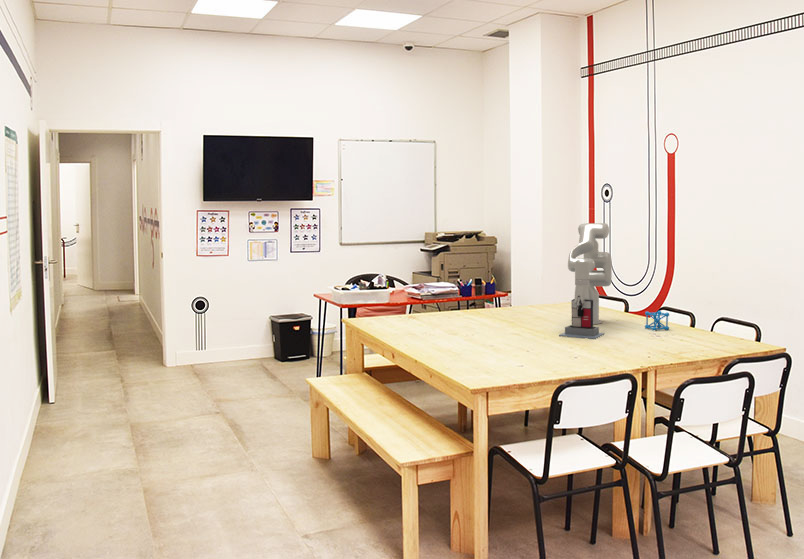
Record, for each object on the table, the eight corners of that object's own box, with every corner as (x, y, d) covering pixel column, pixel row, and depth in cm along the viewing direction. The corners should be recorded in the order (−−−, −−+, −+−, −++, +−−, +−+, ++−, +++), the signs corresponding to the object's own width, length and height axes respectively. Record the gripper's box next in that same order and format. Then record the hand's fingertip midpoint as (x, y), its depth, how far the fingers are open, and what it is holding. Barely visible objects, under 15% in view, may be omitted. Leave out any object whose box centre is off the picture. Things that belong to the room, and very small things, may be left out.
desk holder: (569, 331, 410) (569, 323, 409) (604, 334, 399) (604, 326, 399) (559, 336, 396) (559, 328, 396) (595, 339, 386) (595, 330, 385)
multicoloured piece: (571, 327, 399) (570, 300, 397) (573, 325, 402) (573, 298, 400) (591, 328, 393) (591, 301, 391) (593, 327, 397) (593, 299, 395)
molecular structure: (669, 330, 407) (670, 312, 406) (653, 331, 405) (654, 313, 404) (659, 327, 417) (660, 310, 416) (643, 328, 415) (644, 311, 414)
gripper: (580, 280, 404) (580, 313, 406) (570, 283, 390) (570, 317, 392) (593, 281, 400) (593, 314, 402) (583, 284, 386) (583, 318, 388)
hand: (582, 315), depth 397 cm, fingers closed on multicoloured piece, 3 cm apart
